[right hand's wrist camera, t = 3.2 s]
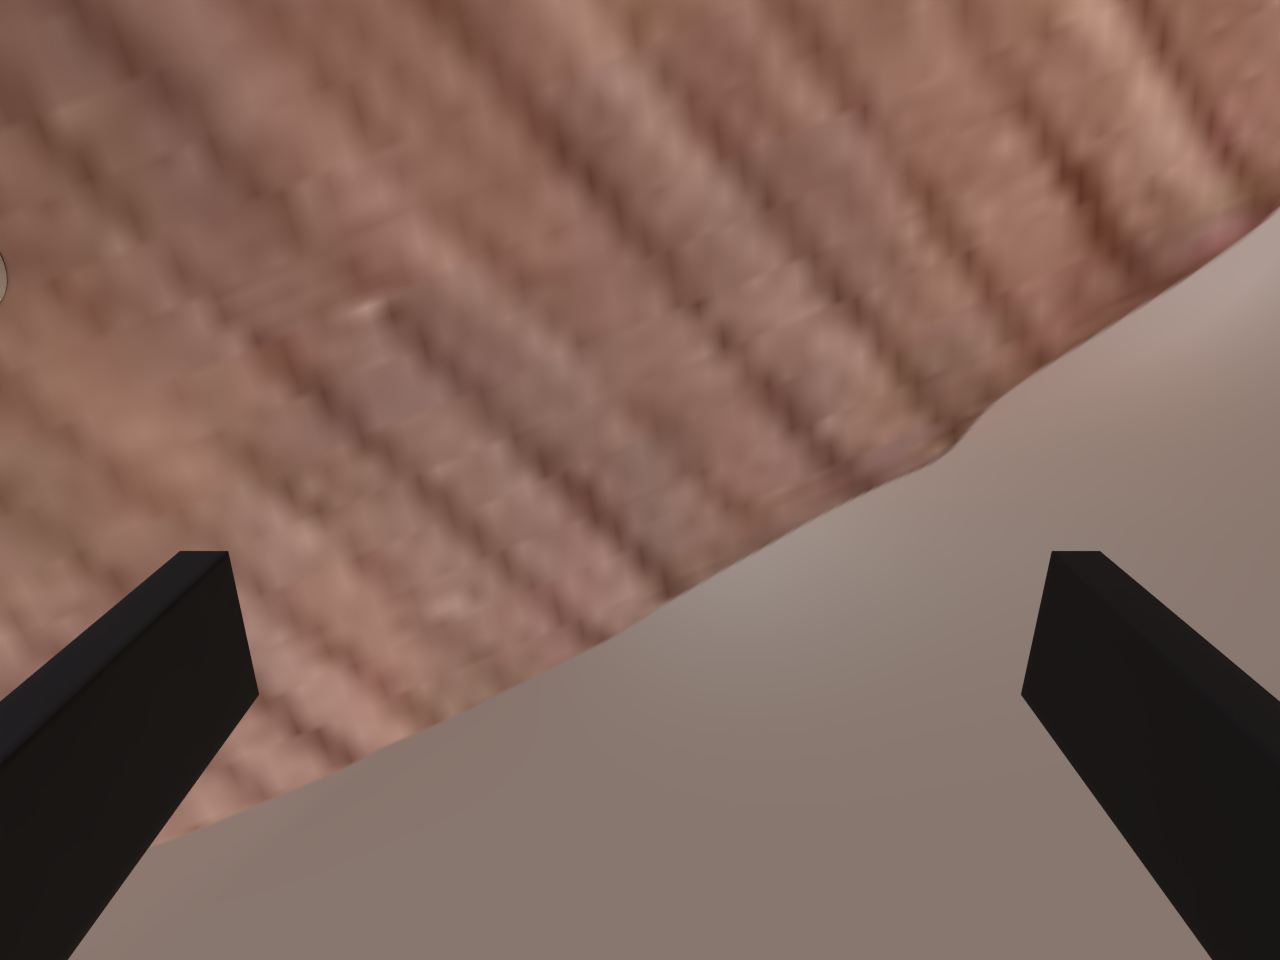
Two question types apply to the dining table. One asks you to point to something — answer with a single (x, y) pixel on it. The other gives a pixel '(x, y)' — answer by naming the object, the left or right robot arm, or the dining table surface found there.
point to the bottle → (2, 278)
